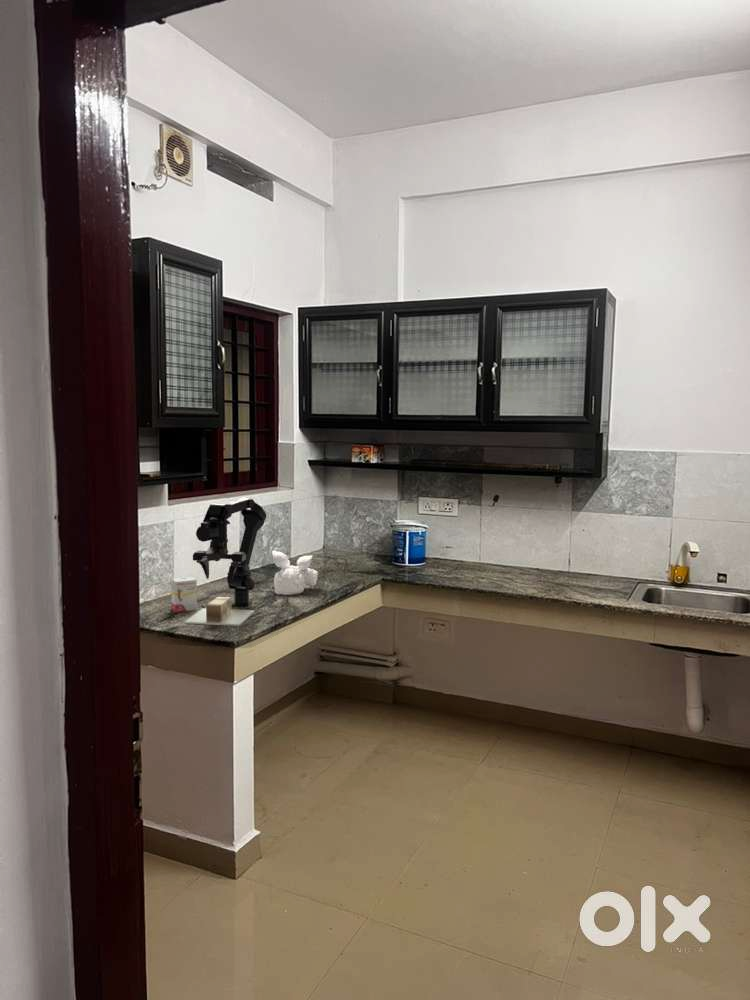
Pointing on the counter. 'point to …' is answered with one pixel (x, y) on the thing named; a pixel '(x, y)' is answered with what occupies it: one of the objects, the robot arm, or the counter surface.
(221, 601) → the birch block
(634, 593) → the counter surface
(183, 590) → the ink box
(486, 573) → the counter surface
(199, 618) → the sage mat
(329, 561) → the counter surface
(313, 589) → the counter surface
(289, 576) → the white tied bag bundle
